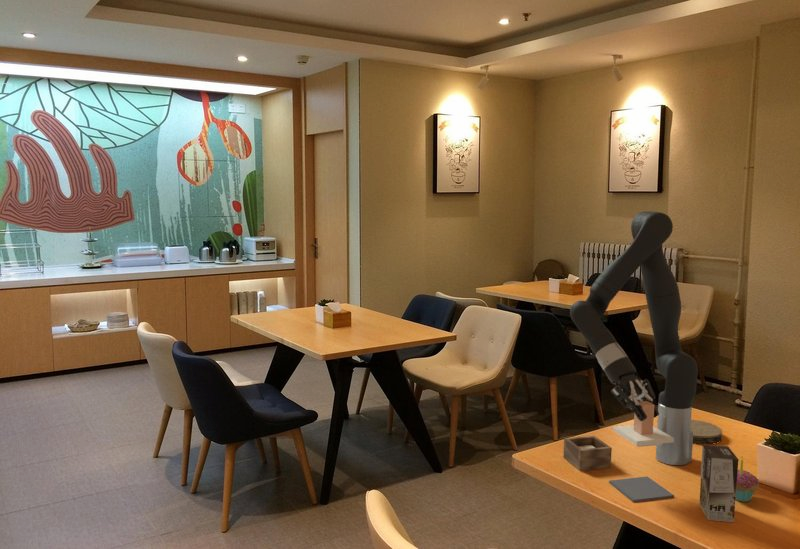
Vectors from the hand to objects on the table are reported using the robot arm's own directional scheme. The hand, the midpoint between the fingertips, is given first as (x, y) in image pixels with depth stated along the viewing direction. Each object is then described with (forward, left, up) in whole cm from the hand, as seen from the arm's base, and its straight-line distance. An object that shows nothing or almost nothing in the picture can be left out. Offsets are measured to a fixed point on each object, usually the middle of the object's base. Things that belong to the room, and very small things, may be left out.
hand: (650, 417), depth 178 cm
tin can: (-40, -34, -21) cm, 57 cm away
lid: (+1, -2, -7) cm, 7 cm away
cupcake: (-22, +8, -21) cm, 32 cm away
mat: (+1, -2, -21) cm, 21 cm away
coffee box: (-10, +14, -21) cm, 27 cm away
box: (+6, -22, -21) cm, 31 cm away
